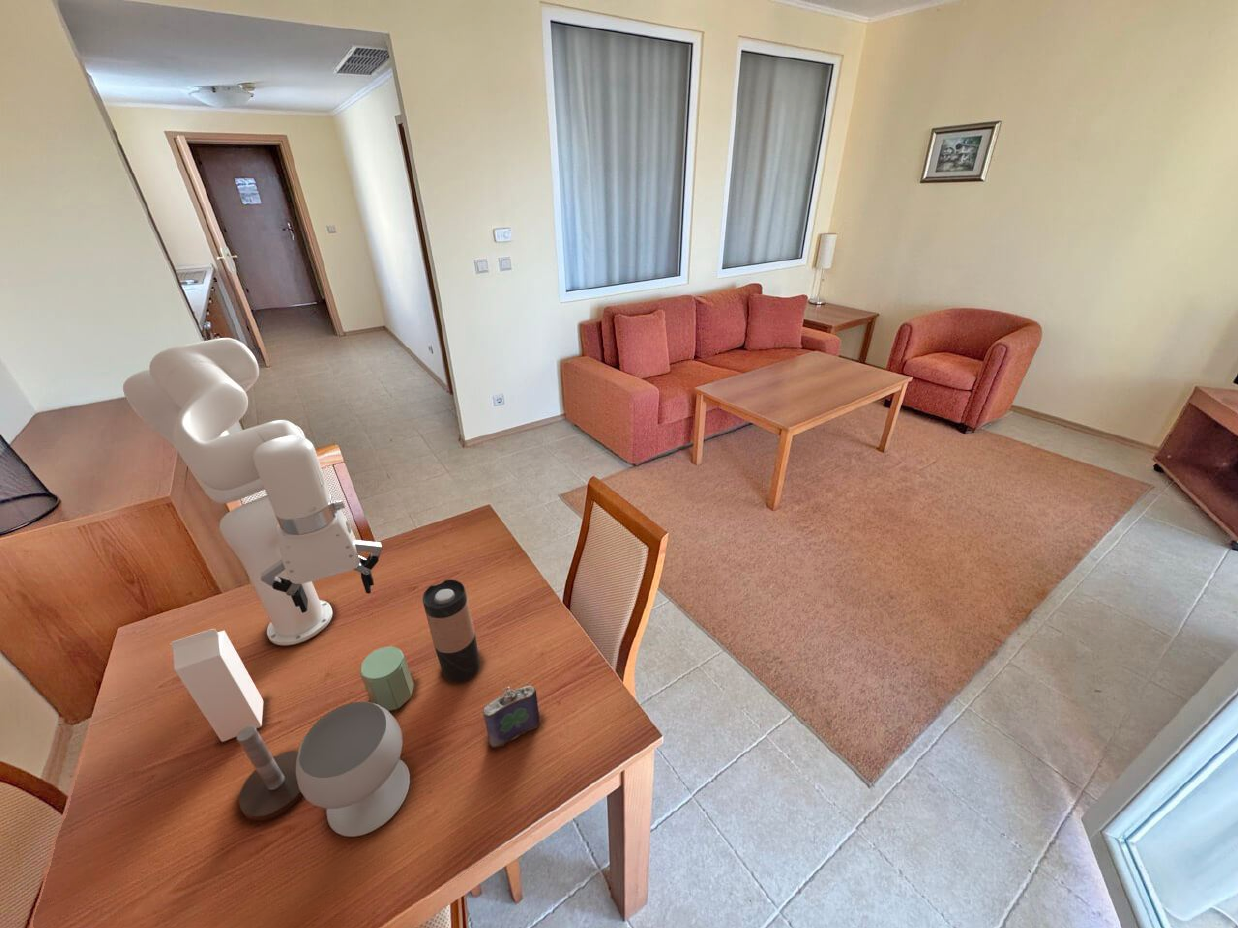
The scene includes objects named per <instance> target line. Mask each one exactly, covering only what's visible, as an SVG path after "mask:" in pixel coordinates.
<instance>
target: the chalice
mask: <svg viewBox="0 0 1238 928" xmlns="http://www.w3.org/2000/svg"><path fill="white" fill-rule="evenodd" d="M402 748H403V733H402V729H401V727H400V725H399V722H398V721H397V719H396V718H395V717H394V716H393V715H392V713H390V711H387V710H386V709H385V708H383V707H381V706H379V705H377V704H375V703H372V702H371V701H370V702H369V701H354V702H350V703H346V704H343V705H340V706H338V707H336V708H334V709H333V710H331V711H329V712H327V713H326V714H325V715H324V716H322V717H321V718H319V719H318V720H317V721H316V722H315V723H314V724H313V725H312V726H311V728H310V729H309V730H308V731H307V733H306V734H305V736H304V738H303V739H302V741H301V743H300V745H299V748H298V751H297V752H298V755H297V760H296V777H297V782H298V786H299V790H300V791H301V793H302V794H303V796H302V797H303V798H304V799H305V800H306V801H307V802H309V803H310V804H312V805H313V806H316V807H318V808H322V809H326V812H325V813H326V819H327V823H328V825H329V827H330V829H331V830H332V831H334V832H335V833H336V834H339V835H341V836H343V837H352V838H353V837H358V836H364V835H366V834H368V833H371V832H374V831H375V830H377V829H379V828H380V827H382V826H383V825H385V824H386V823H387V822H388V821H389V820H390V819H391V818H393V816H394V815H395V814H396V813H397V812H398V811H399V810H400V808H401V806H402V805H403V803H404V801H405V800H406V797H407V795H408V793H409V788H410V783H411V775H410V770H409V767H408V766H407V764H406V763H405V761H404V760H402V759H401V755H402V754H401V753H402Z"/></svg>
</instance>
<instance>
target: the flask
mask: <svg viewBox="0 0 1238 928" xmlns="http://www.w3.org/2000/svg"><path fill="white" fill-rule="evenodd" d="M510 688H511V687H510V686H506V687H504V689H502V690H501V691H502V692H503V695H501V696H499V697H498V698H496V699H494V700H492V701H491V702H490V703H488V704H487V705H485V706H484V708H483V710H482V711H483V712H482V714H483V719H484V722H485V727H486V732H487V736H488V742H489V745H490V746H491V747H492V748H499V747H503V746H505V744H506V743H508V742H510V741H513V740H515V739H517V738H518V737H519V736H520V735H521V734H523V735H524V734H525V733H526V732H529V731H531V730H533V729H536V728H537V727H538V726H539V724H540V723H541V721H540V712H539V704H538V695H537V690H536V689H535V687H534V686H532V685H525V686H523V687H520V688H516V689H510ZM504 690H505V691H504Z"/></svg>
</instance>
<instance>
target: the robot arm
mask: <svg viewBox="0 0 1238 928" xmlns="http://www.w3.org/2000/svg"><path fill="white" fill-rule="evenodd" d="M259 375H260V367H259V364H258V361H257V358H256V356H255V355H254V353H253V352H252V350H251V349H250V348H249V347H248V346H246V344H244V343H243V342H241V341H240V340H237V339H235V338H231V337H221V338H213V339H210V340H204V341H198V342H193V343H188V344H183V345H177V346H172V347H169V348H166V349H163V350H161V351H160V352H158V353H157V354H155V355H154V356H153V357H152V358H151V360H150V362H149V368H148V369H145V370H142V371H139V372H137V373H135V374H132V375H130V376H129V377H128V378H126V380H125V381H124V382H123V384H122V392H123V394H124V397H125V399H126V400H127V403H128V404H129V405H130V407H131V408H132V410H133V411H134V412H135V413H136V415H137V416H138V417H139V418H140V419H141V420H142V421H143V422H144V423H145V424H146V425H147V426H148V427H150V428H151V429H152V430H153V431H154V432H156V433H157V434H158V435H159V436H161V437H163V438H164V439H165V440H166V441H167V442H169V443H170V444H171V446H173V447H174V449H175V450H176V451H177V453H178V454H179V456H180V458H181V459H182V460H183V463H184V464H185V465H186V466H187V468H188V470H189V471H190V472H191V474H192V475H193V477H194V479H195V480H196V481H197V483H198V484H199V486H200V487H201V489H202V491H203V492H204V493H205V494H206V496H207V497H208V498H209V499H210V500H211V501H213V502H215V503H217V504H223V505H224V504H229V503H234V502H236V501H239V500H242V499H245V498H247V497H250V496H253V495H256V494H257V493H260V492H263V491H265V494H266V495H263V496H261V497H259V498H255V499H254V500H251V501H249V502H246V503H244V504H242V505H241V504H240V505H239V506H237V507H235V508H233V509H231V510H230V511H228V512H227V513H225V515H223V517H222V518H221V519H220V522H219V532H220V535H221V536H222V538H223V540H224V541H225V542H226V544H227V545H228V547H229V548H230V549H231V551H233V553H234V554H235V556H236V557H237V558H238V560H239V562H240V563H241V565H242V567H243V568H244V570H245V572H246V574H247V576H248V578H249V581H250V582H251V584H252V587H253V588H254V590H255V592H256V594H257V597H258V599H259V601H260V603H261V604H262V607H263V608H264V611H265V613H266V615H267V617H268V620H269V624H268V626H267V629H266V635H267V638H268V639H269V641H270V642H271V643H273V644H275V645H278V646H291V645H297V644H300V643H303V642H306V641H308V640H310V639H312V638H313V637H315V636H317V635H318V634H319V633H321V632H322V631H323V630H324V629H326V627H327V626H328V625H329V623H330V622H331V620H332V618H333V614H334V613H333V609H332V605H330V603H329V602H327V601H325V600H323V599H320V598H319V595H318V593H317V590H316V588H315V586H314V583H313V582H315V581H318V580H322V579H326V578H329V577H332V576H335V575H336V576H337V575H340V574H343V573H344V574H345V573H347V572H350V571H355V572H358V573H360V579H361V582H362V585H363V588H364V590H365V591H364V592H365V593H366V594H368V595H370V594H371V593H372V588H371V587H372V586H374V585H375V582H374V576H373V574H372V570H373V569H374V568H375V566H376V565H377V564H378V563H379V559H380V556H381V554H382V551H383V544H382V543H381V542H379V541H378V542H377V541H369V540H359V539H356V536H355V534H354V531H353V529H352V527H351V525H350V523H349V521H348V518H347V517H346V516H345V514H344V513H343V511H342V510H344V509H346V505H345V501H344V500H335V498H334V499H333V496H332V495H331V493H330V491H329V487H328V484H327V482H326V481H327V480H326V478H325V475H324V472H323V469H322V466H321V463H320V459H319V457H318V454H317V450H316V448H315V446H314V444H313V443H312V441H310V440H309V439H308V438H307V437H306V435H305V433H304V431H303V430H302V429H301V427H299V426H298V425H296V424H295V423H293V422H292V421H290V420H287V419H276V420H272V421H269V422H265V423H262V424H259V425H256V426H251V427H249V428H244V429H243V430H242V429H241V430H238V431H236V432H232V433H229V431H228V430H229V429H230V428H231V427H233V426H234V425H236V424H237V423H238V422H239V421H240V420H241V419H243V417H244V415H245V414H246V412H247V410H248V407H249V398H248V394H247V392H248V391H249V390H250V389H251V387H253V386H254V384H256V382H257V380H258V379H259ZM360 552H370V554H369V555H368V557H363V556H362V555H359V554H360Z"/></svg>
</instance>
